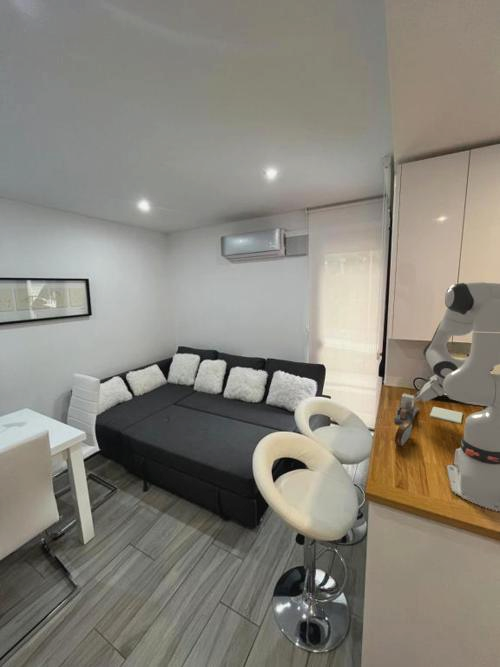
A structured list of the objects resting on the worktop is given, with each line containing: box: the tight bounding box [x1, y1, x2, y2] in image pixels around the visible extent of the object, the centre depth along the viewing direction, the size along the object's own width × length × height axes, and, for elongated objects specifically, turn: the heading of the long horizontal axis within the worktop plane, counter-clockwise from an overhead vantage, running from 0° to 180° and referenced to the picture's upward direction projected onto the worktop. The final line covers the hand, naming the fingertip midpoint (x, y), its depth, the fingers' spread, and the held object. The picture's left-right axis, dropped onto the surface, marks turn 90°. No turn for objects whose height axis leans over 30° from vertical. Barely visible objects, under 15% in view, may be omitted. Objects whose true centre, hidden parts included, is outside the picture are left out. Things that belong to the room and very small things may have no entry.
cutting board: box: [429, 406, 464, 425], centre depth 142 cm, size 13×13×1 cm
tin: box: [394, 420, 413, 447], centre depth 120 cm, size 15×3×8 cm, turn 133°
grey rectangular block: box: [400, 393, 415, 414], centre depth 142 cm, size 4×5×9 cm
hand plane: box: [393, 404, 419, 425], centre depth 142 cm, size 22×7×6 cm, turn 139°
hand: (415, 397), depth 139 cm, fingers open, 8 cm apart
